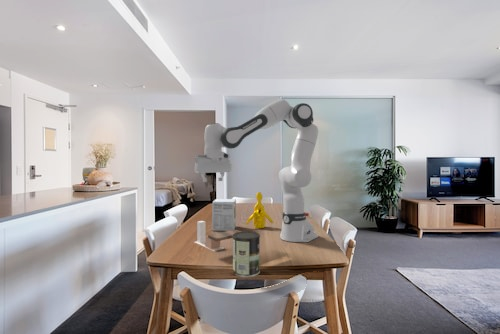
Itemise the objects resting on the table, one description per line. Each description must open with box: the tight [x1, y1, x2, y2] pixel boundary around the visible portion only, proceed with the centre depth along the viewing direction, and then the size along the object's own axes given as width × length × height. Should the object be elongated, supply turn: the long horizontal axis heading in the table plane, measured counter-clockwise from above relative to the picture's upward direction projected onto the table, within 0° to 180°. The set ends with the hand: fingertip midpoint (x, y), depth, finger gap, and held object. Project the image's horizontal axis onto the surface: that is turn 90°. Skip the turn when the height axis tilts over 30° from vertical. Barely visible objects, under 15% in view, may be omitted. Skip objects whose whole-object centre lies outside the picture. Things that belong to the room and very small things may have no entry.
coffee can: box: [232, 231, 261, 278], centre depth 102 cm, size 10×10×14 cm
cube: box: [204, 235, 221, 250], centre depth 127 cm, size 5×5×5 cm
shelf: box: [207, 229, 243, 242], centre depth 120 cm, size 15×7×10 cm, turn 130°
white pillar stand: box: [193, 220, 225, 252], centre depth 130 cm, size 6×18×11 cm, turn 40°
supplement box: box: [211, 198, 237, 232], centre depth 169 cm, size 13×13×18 cm
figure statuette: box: [245, 191, 275, 230], centre depth 172 cm, size 18×8×22 cm, turn 96°
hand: (212, 181), depth 141 cm, fingers open, 8 cm apart
